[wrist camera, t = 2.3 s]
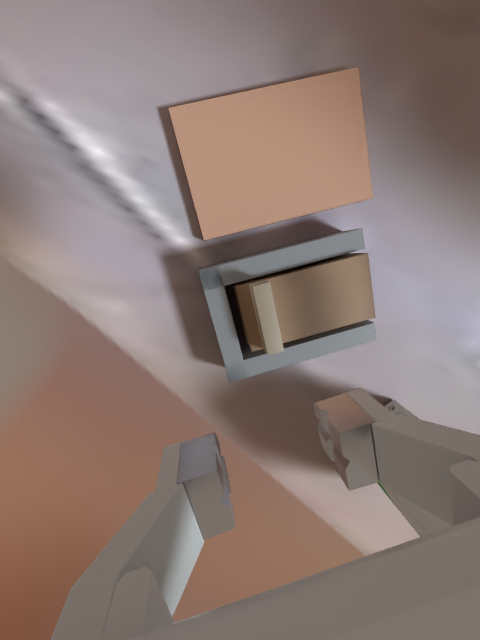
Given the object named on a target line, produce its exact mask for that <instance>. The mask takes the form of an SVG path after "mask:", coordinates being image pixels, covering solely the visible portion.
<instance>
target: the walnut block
mask: <svg viewBox="0 0 480 640" xmlns="http://www.w3.org/2000/svg"><path fill="white" fill-rule="evenodd" d="M231 286H232V290H233V294H234V298H235V302H236V306H237V310H238V314H239V318H240V322H241V326H242V330H243V334H244V338H245V340H246V341H247V343H248V345H249V347H250V349H251V351H252V352H253V351H257V350H261V349H264V350H265V352H266V353H267V355H268V356H269V355H272V354H276V353H280V352H283V351H284V347H283V343H286V342H289V341H293V340H297V339H300V338H304V337H307V336H311V335H314V334H318V333H322V332H325V331H329V330H332V329H336V328H340V327H343V326H347V325H350V324H354V323H357V322H361V321H365V320H368V319H372V318H375V310H374V301H373V293H372V284H371V275H370V267H369V258H368V253H346V254H343V255H339V256H335V257H331V258H328V259H324V260H320V261H316V262H313V263H309V264H305V265H301V266H297V267H294V268H290V269H286V270H282V271H279V272H275V273H271V274H267V275H264V276H260V277H256V278H252V279H249V280H245V281H241V282H237V283H234V284H231Z"/></svg>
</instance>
